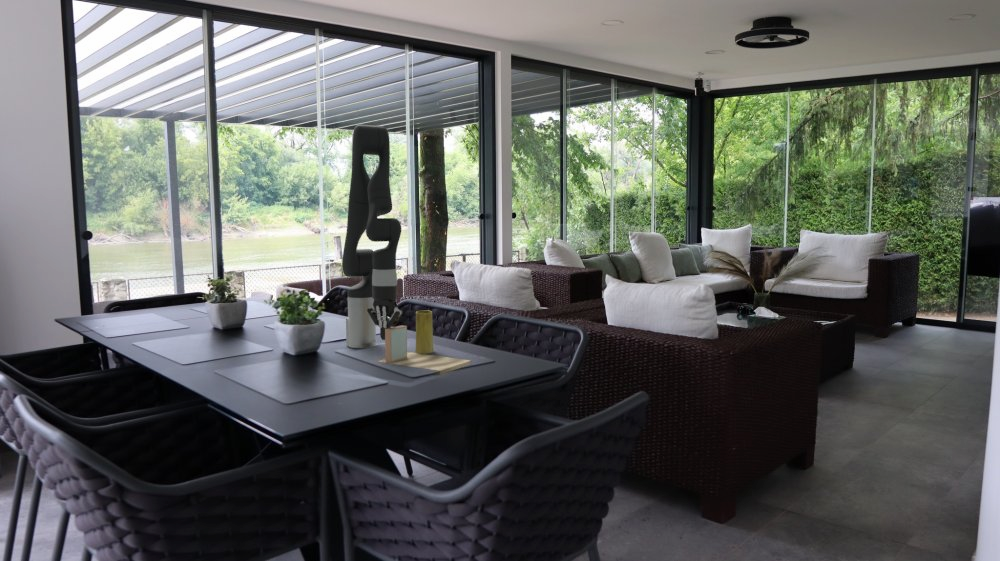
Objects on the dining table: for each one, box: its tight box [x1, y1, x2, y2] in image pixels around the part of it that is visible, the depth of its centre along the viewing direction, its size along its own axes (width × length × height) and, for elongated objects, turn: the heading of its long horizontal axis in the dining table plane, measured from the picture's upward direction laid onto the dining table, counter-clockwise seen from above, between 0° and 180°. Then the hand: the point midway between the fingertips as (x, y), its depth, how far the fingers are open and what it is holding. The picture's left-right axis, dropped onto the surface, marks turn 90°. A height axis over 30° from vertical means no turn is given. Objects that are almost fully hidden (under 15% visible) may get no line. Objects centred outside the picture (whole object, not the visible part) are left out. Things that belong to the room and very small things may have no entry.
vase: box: [415, 310, 435, 355], centre depth 234 cm, size 6×6×14 cm
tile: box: [384, 324, 408, 364], centre depth 222 cm, size 2×8×10 cm, turn 149°
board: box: [375, 351, 472, 376], centre depth 221 cm, size 24×16×1 cm, turn 59°
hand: (385, 339), depth 224 cm, fingers closed
